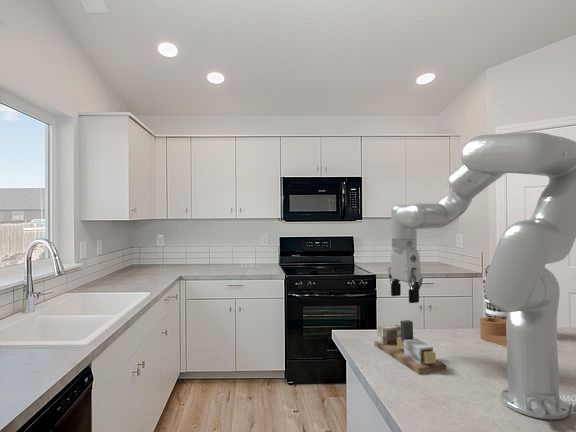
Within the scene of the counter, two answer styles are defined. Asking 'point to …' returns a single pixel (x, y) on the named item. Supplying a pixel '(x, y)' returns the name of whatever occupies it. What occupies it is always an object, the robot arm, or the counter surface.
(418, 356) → the sliding bolt latch
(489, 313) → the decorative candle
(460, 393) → the counter surface
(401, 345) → the brass bolt with handle
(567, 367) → the counter surface
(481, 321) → the bracket
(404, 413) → the counter surface
